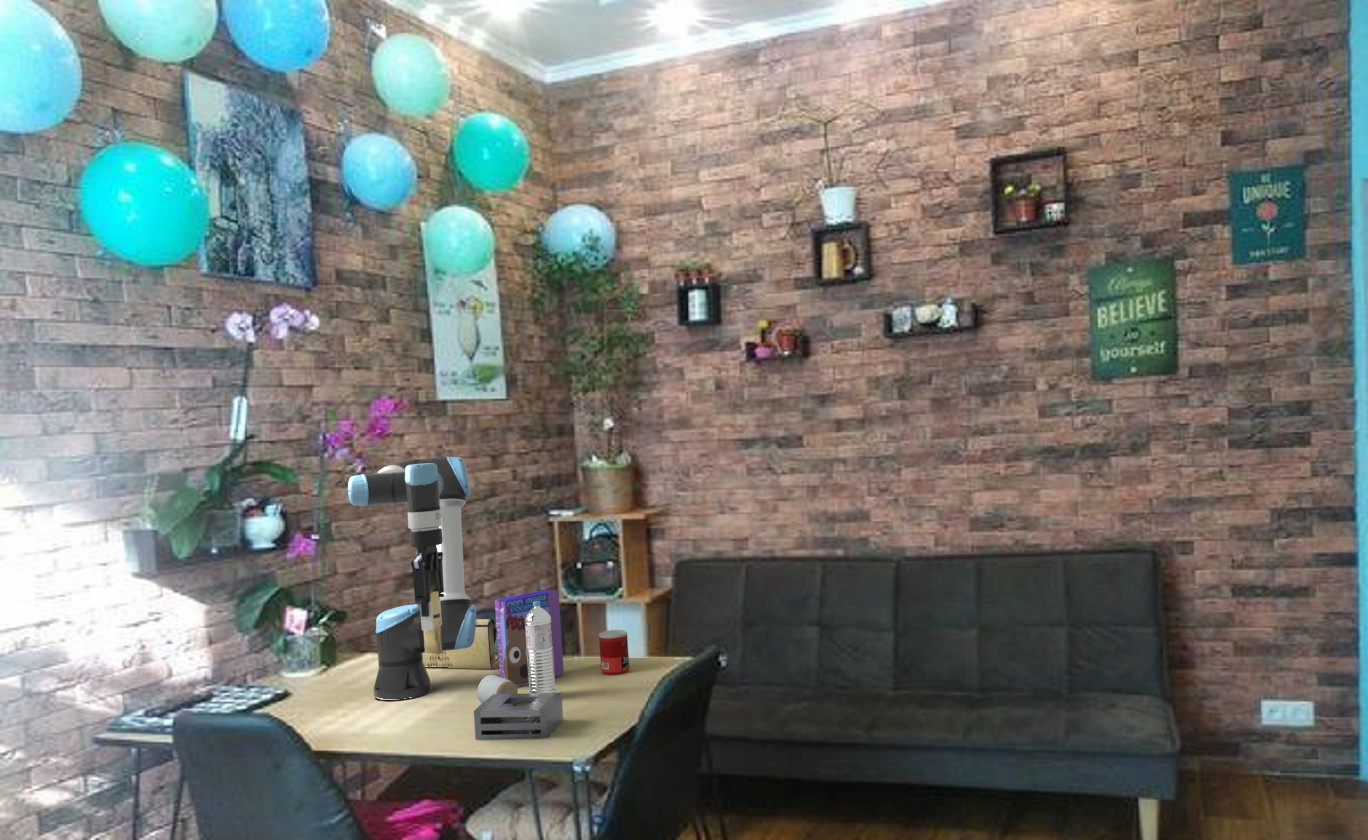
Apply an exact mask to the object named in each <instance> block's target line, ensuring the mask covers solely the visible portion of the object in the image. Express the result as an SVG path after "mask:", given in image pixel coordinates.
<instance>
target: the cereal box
mask: <svg viewBox="0 0 1368 840" xmlns="http://www.w3.org/2000/svg"><path fill="white" fill-rule="evenodd" d="M559 596H560V593H559V590H557V589H547V590H541V591H534V592H531V593H525V594H519V595H513V596H507V597H503V598H498V599H494V610H495V625H496V626H495V627H496V628H497V633H496V642H497V658H499V659H498V669H499V670H498V671H499V672H498V673H499V677H501V678H504V679H507V680H510V681H511V682H513V683H514V684H515V685H516V687H517V688H520V687H524V686H525V687H526V686H529V683H528V681H529V680H528V666H527V652H526V649H527V646H526V630H525V622H524V619H525V617H526V615H527V614H528V612H529V611H530V610H531V609H533V608H534V606H533V602H535V601H540V607H541V608H543V609H544V610H545V611H547V612H548V614H549V615H550V617H551V634H552V646H553V658H554V660H553V661H554V672H555V674H554V675H555V679H556V678H560V677H563V675H564V676H565V671H564V655H563V642H562V641H563V639H562V625H561V622H562V621H561V609H560V607H561V606H560V597H559Z"/></svg>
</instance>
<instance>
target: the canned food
mask: <svg viewBox="0 0 1368 840" xmlns="http://www.w3.org/2000/svg"><path fill="white" fill-rule="evenodd" d="M628 640H629V639H628V632H627V631H626V630H624V629H623V630H622V629H612V630H610V629H609V630H605V631H602V632H599V633H598V645H599V657H600V671H601V673H602V674H603V675H605V674H606V676H619V674H620V675H624V674H626V672H627V673H629V671H630V670H629V669H630V659H629V657H630V656H629V644H628V643H629V642H628ZM623 673H624V674H623Z"/></svg>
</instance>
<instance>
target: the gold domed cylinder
mask: <svg viewBox="0 0 1368 840" xmlns="http://www.w3.org/2000/svg"><path fill="white" fill-rule="evenodd" d="M430 602H432V606H433V621H434V630H423V632H424V647H425V653H438V652H441V651H442V638H441V623H440V608H439V593H438V591H430Z"/></svg>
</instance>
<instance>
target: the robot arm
mask: <svg viewBox="0 0 1368 840" xmlns="http://www.w3.org/2000/svg"><path fill="white" fill-rule="evenodd" d="M347 485H348V491H347V492H348V499H349V502H350V504H351V505H352V506H354V507H357V506H358V507H359V506H362V507H367V506H374V505H376V506H377V505H387V504H388V505H389V504H403V503H407V504H406V505H407V527H408V529H409V530H410V531H409V533H408V535H409V536H408V537H409V538H408V539H409V540H408V541H409V546H410V547H411V548H416V550H415V551H416V552H415V559H411V560H410V566H411V570H412V578H413V579H412V580H413V581H412V582H413V592H414V601H415V603H414V604H405V605H400V606H396V607H393V608H389V609H387V610H384V611H383V612H381V613H380V614H379V613H378V615H377V617H376V619H375V620H376V621H375V622H376V623H375V627H376V628H375V634H376V644H377V645H376V646H377V647H376V648H377V661H378V669H377V673H376V678H375V681H374V686H373V697H374V696H375V697H379V698H383V699H404V698H409V697H414V698H417V697H421V696H423V695H426V694H428V693H430V692H431V691H430V690H432V681H431V678H430V675H429V673H428V671H427V668H425V666H424V664H423V656H422V653H425V647H424V632H423V630H434V621H433V606H432V602H430V591H438V593H439V608H440V623H441V638H442V651H447V650H457V649H463V648H468V647H470V646H471V645H472V644H473V642H474V637H475V629H476V619H477V612H478V611H477V606H476V604H473V603H471V601H472V600H471V597H470V596H469V595H467V594H466V592H465V591H466V590H465V571H464V570H465V569H464V567H465V566H464V551H463V549H464V548H463V529H462V528H463V527H462V508H463V507H464V506H465V505H466V503H467V501H466V500H467V498H469V497H470V496H471V494H472V492H471V485H470V480H469V474H468V470H467V466H466V461H465V460H464V458H462V457H461V456H441V457H429V458H417V459H416V458H414V459H413V458H412V459H406V460H402V461H399V462H396V463H395V462H394V463H392V464H389V465H386V466H384V467H383V468H381V469H380V470H379V471H378V472H374V473H369V474H363V473H362V474H357V475H352V476H350V478H349V480H348V484H347ZM404 700H405V699H404Z"/></svg>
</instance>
